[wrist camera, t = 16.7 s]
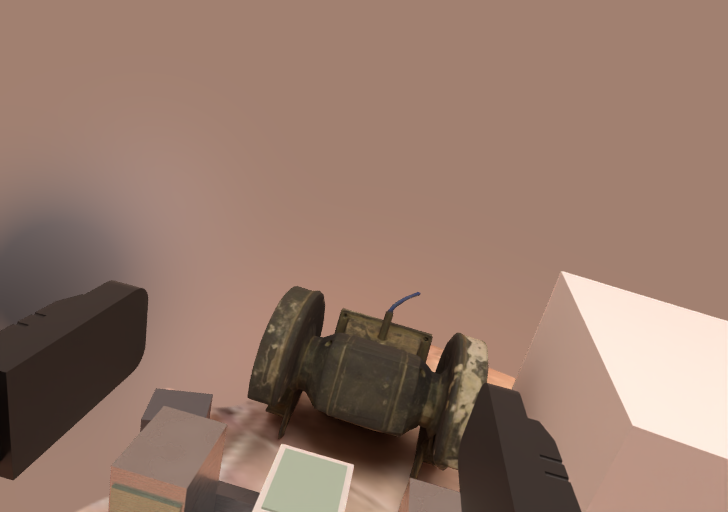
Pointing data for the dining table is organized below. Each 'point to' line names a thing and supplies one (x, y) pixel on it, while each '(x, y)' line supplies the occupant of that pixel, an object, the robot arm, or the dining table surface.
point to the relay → (177, 404)
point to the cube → (631, 398)
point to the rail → (208, 472)
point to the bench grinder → (369, 374)
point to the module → (305, 483)
